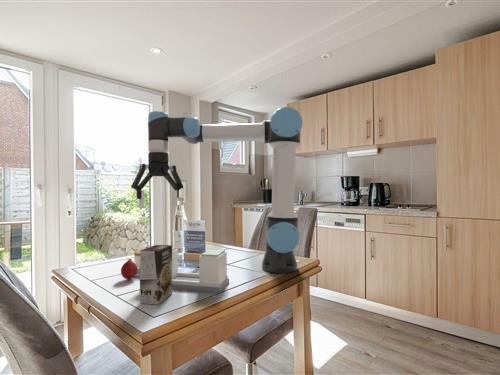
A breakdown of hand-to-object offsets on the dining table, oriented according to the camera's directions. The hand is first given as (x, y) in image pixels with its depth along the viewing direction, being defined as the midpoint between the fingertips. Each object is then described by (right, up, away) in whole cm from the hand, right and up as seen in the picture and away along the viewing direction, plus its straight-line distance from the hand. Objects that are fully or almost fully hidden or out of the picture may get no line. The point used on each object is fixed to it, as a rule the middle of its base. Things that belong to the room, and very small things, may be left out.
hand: (158, 207), depth 109 cm
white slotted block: (+13, -27, -8) cm, 31 cm away
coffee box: (+6, -28, -21) cm, 35 cm away
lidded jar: (-9, -28, +13) cm, 32 cm away
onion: (-10, -28, -3) cm, 30 cm away
